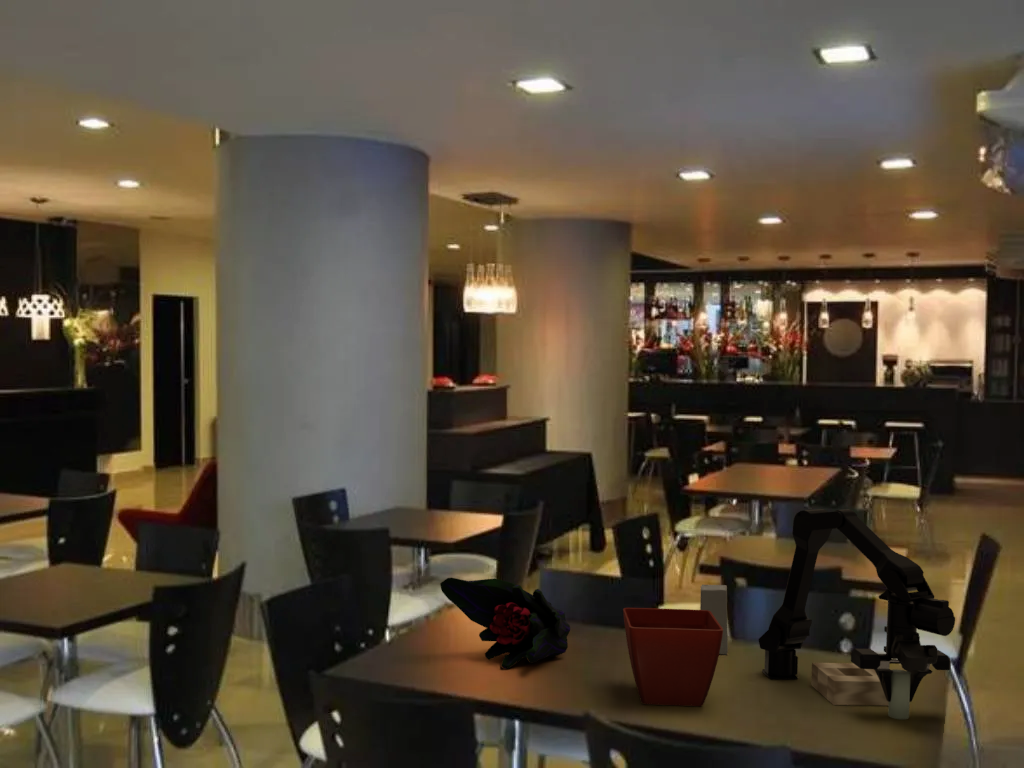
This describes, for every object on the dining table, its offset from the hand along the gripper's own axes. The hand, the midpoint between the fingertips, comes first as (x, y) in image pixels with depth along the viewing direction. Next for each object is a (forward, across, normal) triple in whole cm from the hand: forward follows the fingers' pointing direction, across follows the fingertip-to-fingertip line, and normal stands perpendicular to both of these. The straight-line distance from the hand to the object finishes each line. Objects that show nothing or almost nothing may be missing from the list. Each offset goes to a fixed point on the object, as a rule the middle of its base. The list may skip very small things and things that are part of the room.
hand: (899, 701), depth 223 cm
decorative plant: (+3, -76, +36) cm, 84 cm away
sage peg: (+3, 0, 0) cm, 3 cm away
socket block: (+3, -4, +14) cm, 15 cm away
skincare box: (+3, -26, +50) cm, 56 cm away
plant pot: (+3, -45, +11) cm, 46 cm away
